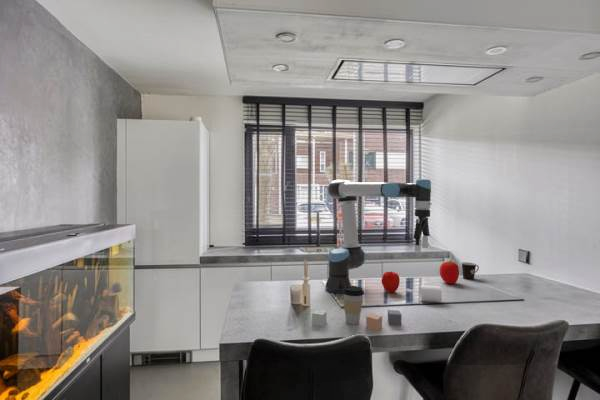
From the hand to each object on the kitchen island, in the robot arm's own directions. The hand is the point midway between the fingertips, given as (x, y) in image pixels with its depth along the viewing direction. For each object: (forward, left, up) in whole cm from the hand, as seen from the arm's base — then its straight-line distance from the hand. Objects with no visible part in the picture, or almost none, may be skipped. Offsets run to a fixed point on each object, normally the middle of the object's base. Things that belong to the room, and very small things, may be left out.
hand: (421, 249), depth 180 cm
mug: (+3, +6, -28) cm, 28 cm away
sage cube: (-26, -57, -27) cm, 69 cm away
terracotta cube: (-5, -47, -27) cm, 55 cm away
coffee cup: (-15, -47, -28) cm, 57 cm away
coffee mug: (+12, +70, -28) cm, 76 cm away
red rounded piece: (-19, +7, -28) cm, 34 cm away
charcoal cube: (0, -37, -27) cm, 46 cm away
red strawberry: (+3, +49, -28) cm, 56 cm away
